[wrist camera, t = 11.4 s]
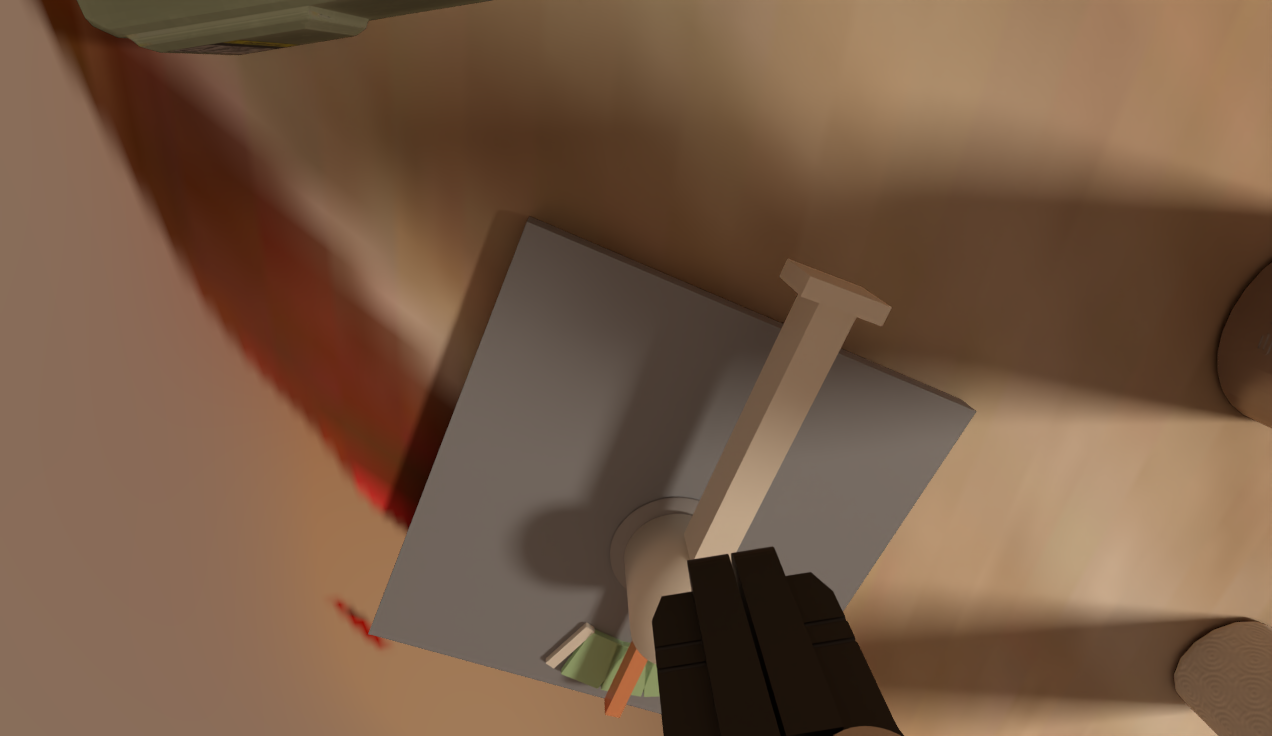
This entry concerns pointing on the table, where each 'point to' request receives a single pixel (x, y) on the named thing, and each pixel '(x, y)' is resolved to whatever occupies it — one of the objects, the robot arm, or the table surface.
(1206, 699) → the paper towel roll
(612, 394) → the gauge board
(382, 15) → the handheld radio
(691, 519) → the lever with orange pointer
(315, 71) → the table surface
